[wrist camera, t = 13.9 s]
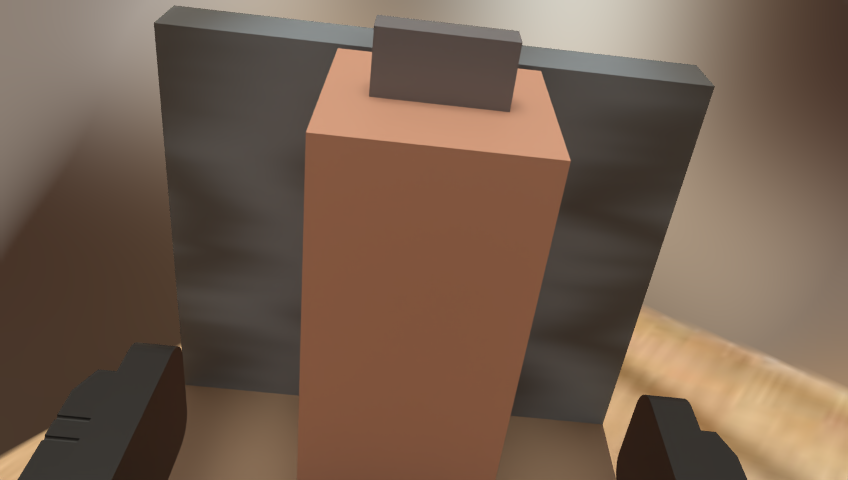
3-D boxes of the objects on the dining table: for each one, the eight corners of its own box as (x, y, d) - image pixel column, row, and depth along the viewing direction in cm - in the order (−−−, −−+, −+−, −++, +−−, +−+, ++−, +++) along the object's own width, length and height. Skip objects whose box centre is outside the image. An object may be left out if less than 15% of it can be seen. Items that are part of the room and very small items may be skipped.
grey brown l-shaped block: (559, 501, 30) (696, 65, 20) (604, 784, 21) (874, 271, 12) (206, 469, 29) (173, 5, 20) (112, 747, 21) (-26, 177, 11)
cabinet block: (471, 419, 25) (553, 9, 17) (477, 553, 20) (588, 85, 13) (320, 404, 24) (340, -15, 17) (295, 537, 20) (308, 54, 13)
